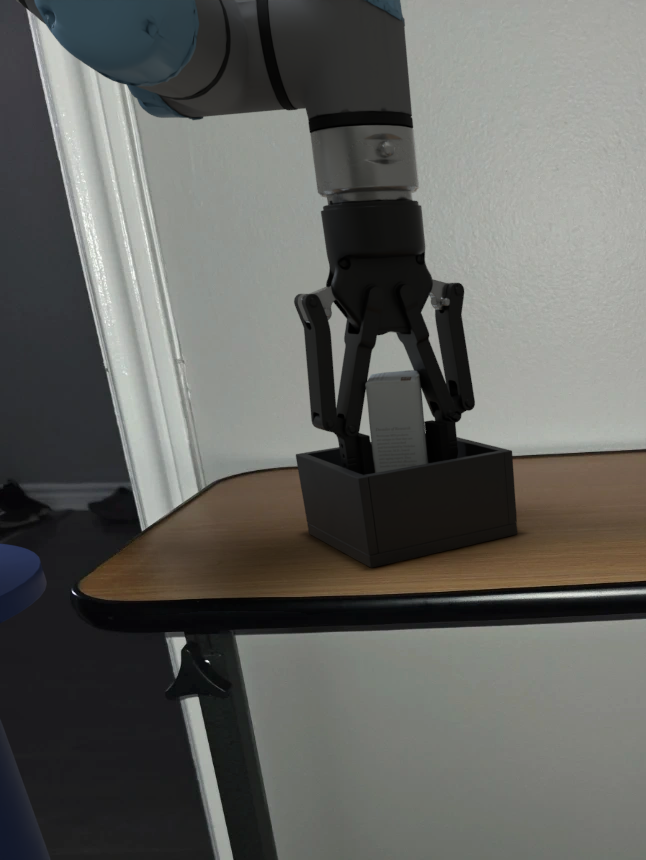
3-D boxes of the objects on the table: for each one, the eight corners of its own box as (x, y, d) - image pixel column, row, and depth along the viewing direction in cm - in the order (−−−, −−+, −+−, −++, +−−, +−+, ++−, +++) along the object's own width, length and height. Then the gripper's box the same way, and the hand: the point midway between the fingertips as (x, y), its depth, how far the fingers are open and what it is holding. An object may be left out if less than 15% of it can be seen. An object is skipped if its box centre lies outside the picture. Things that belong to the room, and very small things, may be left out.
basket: (371, 568, 72) (358, 478, 69) (308, 533, 83) (295, 454, 80) (517, 534, 79) (512, 450, 76) (443, 506, 89) (435, 431, 86)
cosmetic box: (385, 515, 83) (366, 372, 77) (435, 511, 83) (419, 368, 78) (380, 534, 77) (359, 381, 72) (434, 529, 78) (417, 377, 72)
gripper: (260, 199, 62) (316, 537, 72) (506, 192, 71) (524, 494, 81) (227, 206, 68) (284, 519, 78) (459, 200, 77) (482, 480, 87)
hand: (407, 505), depth 80 cm, fingers closed on cosmetic box, 6 cm apart
